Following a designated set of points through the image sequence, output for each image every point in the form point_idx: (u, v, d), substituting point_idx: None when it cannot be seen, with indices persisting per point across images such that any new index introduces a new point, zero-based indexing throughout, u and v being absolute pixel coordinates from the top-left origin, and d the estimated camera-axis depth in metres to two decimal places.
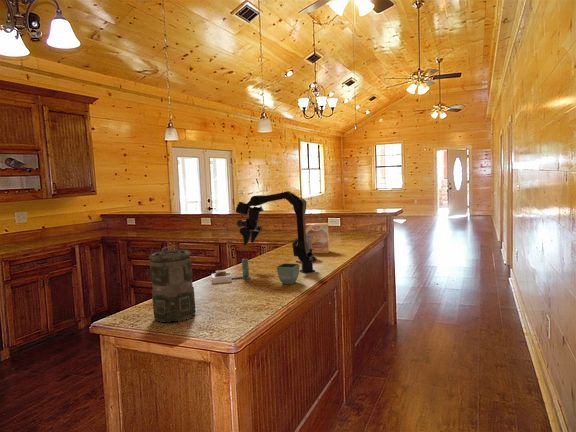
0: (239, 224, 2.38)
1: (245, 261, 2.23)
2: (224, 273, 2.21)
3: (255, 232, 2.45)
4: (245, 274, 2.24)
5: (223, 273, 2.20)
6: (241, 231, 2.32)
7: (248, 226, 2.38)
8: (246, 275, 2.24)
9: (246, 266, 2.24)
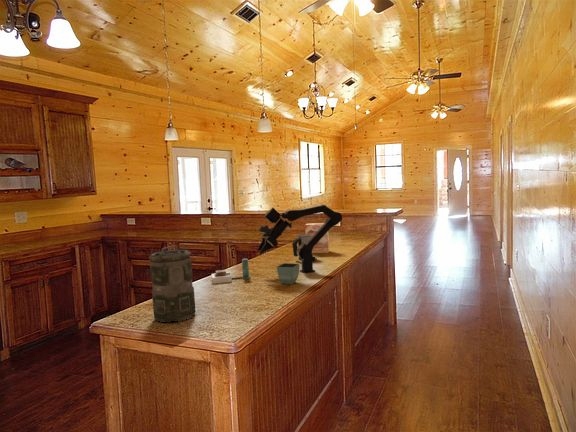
0: (265, 230, 2.21)
1: (245, 261, 2.23)
2: (224, 273, 2.21)
3: None
4: (245, 274, 2.24)
5: (223, 273, 2.20)
6: (270, 239, 2.17)
7: (271, 236, 2.24)
8: (246, 275, 2.24)
9: (246, 266, 2.24)
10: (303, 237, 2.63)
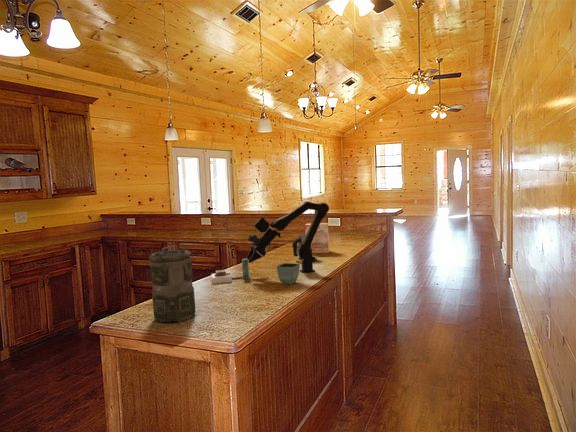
0: (253, 239, 2.21)
1: (245, 261, 2.23)
2: (224, 273, 2.21)
3: None
4: (245, 274, 2.24)
5: (223, 273, 2.20)
6: (258, 249, 2.16)
7: (260, 245, 2.23)
8: (246, 275, 2.24)
9: (246, 266, 2.24)
10: (303, 237, 2.63)
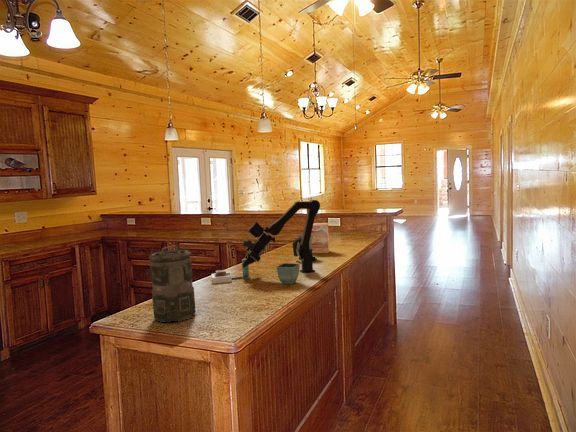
0: (248, 244, 2.20)
1: None
2: (224, 273, 2.21)
3: None
4: (245, 274, 2.24)
5: (223, 273, 2.20)
6: (252, 254, 2.16)
7: (254, 250, 2.23)
8: (246, 275, 2.24)
9: (246, 266, 2.24)
10: None
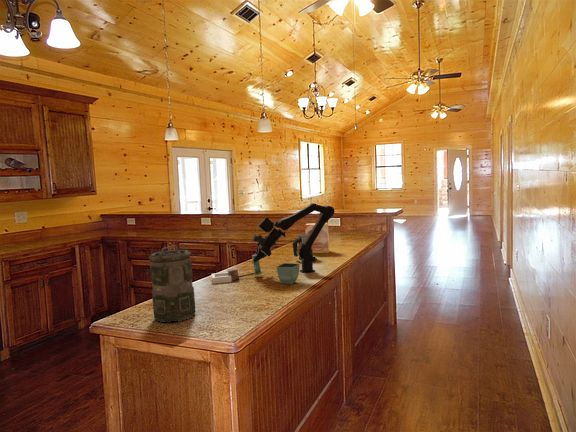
0: (259, 239, 2.21)
1: None
2: (236, 271, 2.22)
3: None
4: (257, 270, 2.25)
5: (235, 271, 2.22)
6: (263, 249, 2.17)
7: (265, 245, 2.24)
8: (258, 271, 2.25)
9: (257, 262, 2.25)
10: (303, 237, 2.63)
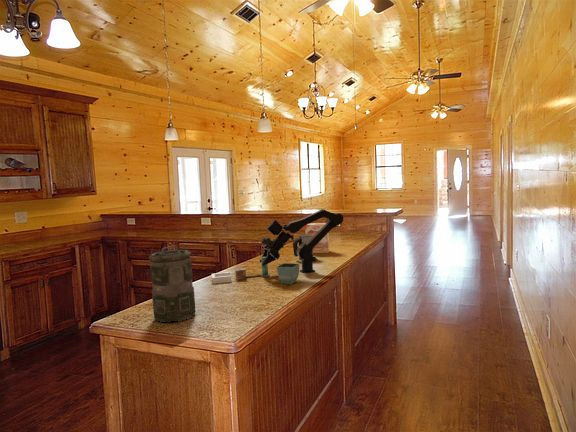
0: (267, 242, 2.22)
1: (264, 259, 2.25)
2: (244, 271, 2.22)
3: None
4: (264, 272, 2.26)
5: (243, 271, 2.22)
6: (272, 252, 2.18)
7: (273, 248, 2.25)
8: (265, 273, 2.26)
9: None
10: (303, 237, 2.63)
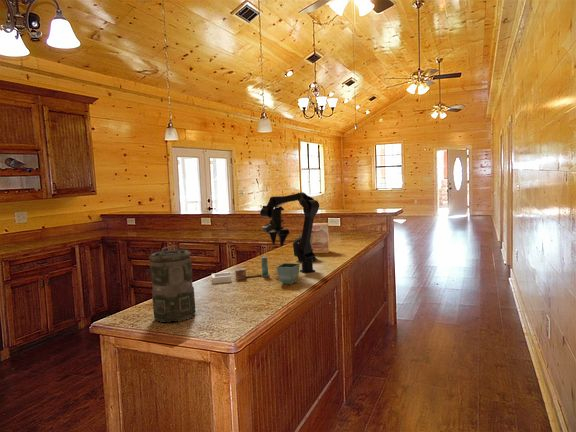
0: (271, 228, 2.37)
1: (264, 259, 2.25)
2: (244, 271, 2.22)
3: (274, 233, 2.49)
4: (264, 272, 2.26)
5: (243, 271, 2.22)
6: (282, 233, 2.35)
7: (277, 227, 2.41)
8: (265, 273, 2.26)
9: (265, 264, 2.26)
10: None
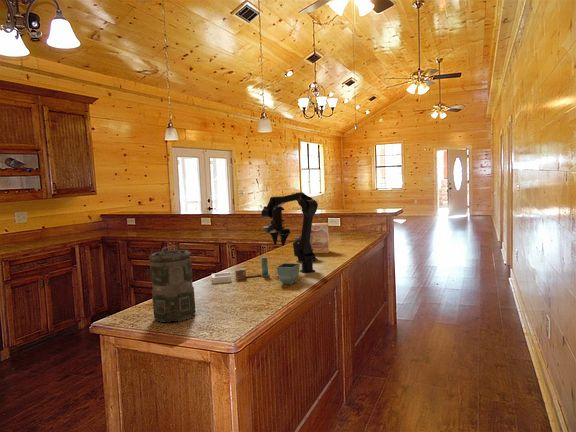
0: (272, 228, 2.38)
1: (264, 259, 2.25)
2: (244, 271, 2.22)
3: (275, 233, 2.50)
4: (264, 272, 2.26)
5: (243, 271, 2.22)
6: (283, 232, 2.36)
7: (278, 227, 2.42)
8: (265, 273, 2.26)
9: (265, 264, 2.26)
10: None
